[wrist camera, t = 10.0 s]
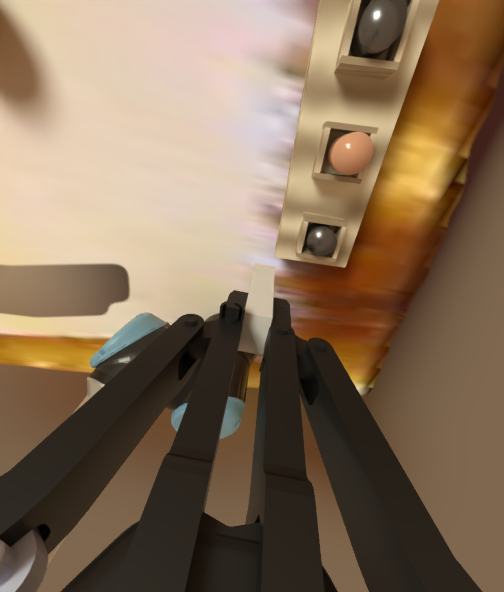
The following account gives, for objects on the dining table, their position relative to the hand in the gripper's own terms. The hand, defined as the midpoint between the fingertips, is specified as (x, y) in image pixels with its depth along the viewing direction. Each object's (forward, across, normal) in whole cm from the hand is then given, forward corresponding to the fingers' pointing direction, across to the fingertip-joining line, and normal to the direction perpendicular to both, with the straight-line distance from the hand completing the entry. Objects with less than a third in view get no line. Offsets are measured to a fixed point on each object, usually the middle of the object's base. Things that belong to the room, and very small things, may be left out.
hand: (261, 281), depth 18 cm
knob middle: (+19, -7, -10) cm, 22 cm away
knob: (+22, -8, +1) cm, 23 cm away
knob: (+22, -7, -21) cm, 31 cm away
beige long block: (+28, -7, -10) cm, 31 cm away
